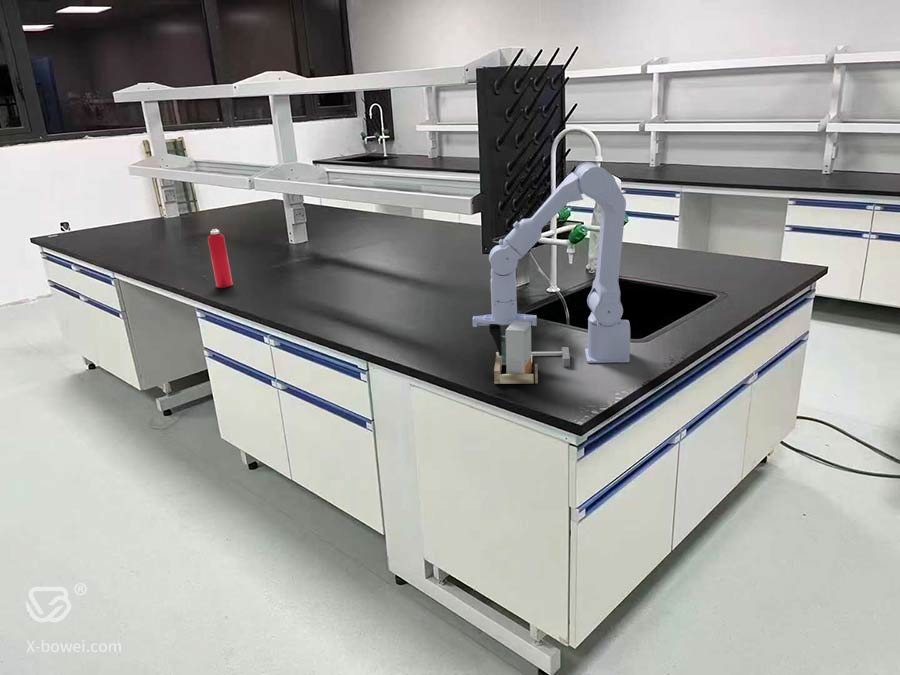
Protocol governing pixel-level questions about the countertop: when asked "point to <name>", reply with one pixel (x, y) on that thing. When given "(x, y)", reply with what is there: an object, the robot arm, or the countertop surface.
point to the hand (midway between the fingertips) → (505, 354)
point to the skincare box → (518, 348)
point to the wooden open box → (511, 378)
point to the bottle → (219, 259)
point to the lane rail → (564, 355)
